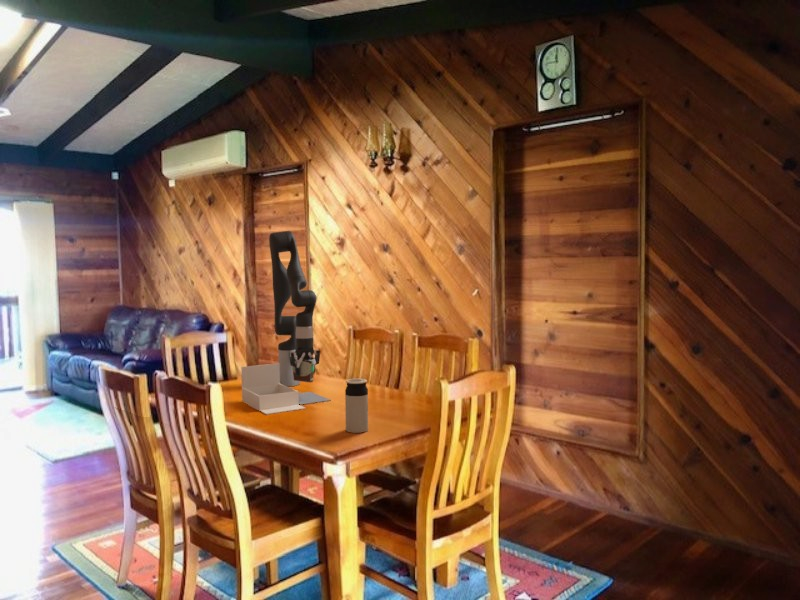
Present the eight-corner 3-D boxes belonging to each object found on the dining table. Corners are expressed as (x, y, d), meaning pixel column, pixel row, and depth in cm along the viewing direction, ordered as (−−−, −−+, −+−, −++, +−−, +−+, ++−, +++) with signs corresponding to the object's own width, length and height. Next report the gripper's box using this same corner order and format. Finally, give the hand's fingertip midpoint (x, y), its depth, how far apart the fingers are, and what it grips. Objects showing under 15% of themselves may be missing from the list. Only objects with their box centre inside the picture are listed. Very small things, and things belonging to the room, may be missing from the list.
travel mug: (344, 433, 225) (344, 382, 224) (346, 427, 233) (346, 378, 232) (367, 433, 225) (367, 382, 224) (368, 427, 233) (368, 378, 232)
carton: (279, 396, 285) (278, 363, 284) (305, 408, 262) (305, 372, 261) (242, 401, 275) (241, 367, 274) (266, 414, 253) (265, 376, 252)
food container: (322, 380, 280) (321, 357, 279) (313, 382, 275) (312, 359, 274) (300, 377, 286) (299, 355, 286) (290, 380, 281) (290, 357, 281)
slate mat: (310, 392, 293) (310, 391, 293) (330, 400, 276) (330, 399, 276) (281, 396, 285) (281, 395, 285) (300, 405, 268) (300, 404, 268)
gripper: (315, 334, 286) (316, 372, 287) (285, 337, 278) (286, 375, 279) (323, 336, 280) (323, 374, 281) (292, 338, 272) (293, 378, 273)
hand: (305, 374), depth 280 cm, fingers closed on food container, 6 cm apart
